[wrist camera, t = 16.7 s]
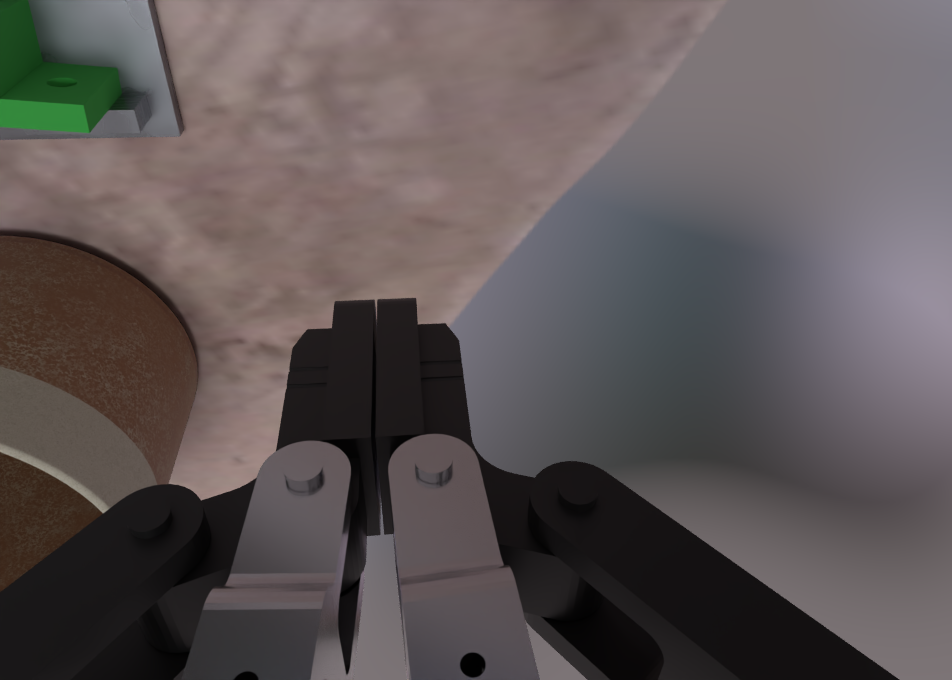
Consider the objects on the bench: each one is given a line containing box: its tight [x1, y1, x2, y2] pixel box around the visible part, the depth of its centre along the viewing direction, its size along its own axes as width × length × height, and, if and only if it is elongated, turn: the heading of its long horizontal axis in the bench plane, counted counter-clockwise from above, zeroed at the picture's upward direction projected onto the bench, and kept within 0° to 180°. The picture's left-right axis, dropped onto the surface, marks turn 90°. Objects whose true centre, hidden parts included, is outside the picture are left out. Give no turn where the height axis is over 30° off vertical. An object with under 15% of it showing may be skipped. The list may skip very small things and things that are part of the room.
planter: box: [0, 236, 198, 592], centre depth 35 cm, size 16×16×14 cm
